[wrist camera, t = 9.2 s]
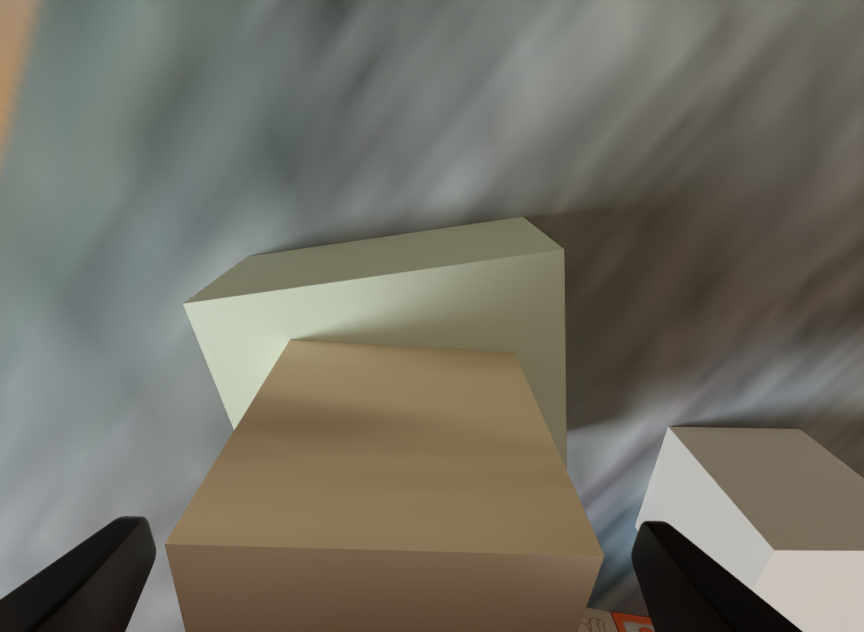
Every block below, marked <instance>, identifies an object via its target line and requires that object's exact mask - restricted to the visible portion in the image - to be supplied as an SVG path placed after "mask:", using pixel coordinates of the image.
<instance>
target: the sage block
mask: <svg viewBox="0 0 864 632" xmlns="http://www.w3.org/2000/svg"><path fill="white" fill-rule="evenodd" d="M183 305H184V307H185V310H186V312H187V315H188V317H189V320H190V322H191V324H192V327H193V329H194V332H195V334H196V337H197V339H198V342H199V344H200V347H201V349H202V352H203V354H204V357H205V359H206V362H207V364H208V367H209V369H210V371H211V374H212V376H213V379H214V381H215V384H216V386H217V389H218V391H219V394H220V396H221V399H222V401H223V404H224V406H225V409H226V411H227V414H228V416H229V418H230V421H231V423H232V426H233V428H234V430H235V428H236V427H237V425H238V424H239V422H240V420H241V419H242V417H243V415H244V414H245V412H246V410H247V409H248V407H249V406H250V404H251V402H252V401H253V399H254V397H255V396H256V394H257V393H258V391H259V389H260V388H261V386H262V384H263V383H264V381H265V379H266V378H267V376H268V375H269V373H270V371H271V370H272V368H273V366H274V365H275V363H276V361H277V360H278V358H279V357H280V355H281V353H282V352H283V350H284V348H285V347H286V345H287V344H288V342H289V340H304V341H321V342H338V343H355V344H373V345H390V346H407V347H424V348H441V349H458V350H476V351H493V352H510V353H515V355H516V357H517V360H518V362H519V364H520V366H521V369H522V371H523V373H524V375H525V378H526V380H527V382H528V384H529V387H530V389H531V391H532V393H533V396H534V398H535V400H536V403H537V405H538V407H539V409H540V412H541V414H542V416H543V418H544V421H545V423H546V425H547V427H548V430H549V432H550V434H551V436H552V439H553V441H554V443H555V445H556V448H557V450H558V452H559V455H560V457H561V459H562V461H563V464H564V466H565V468H566V470H567V439H566V352H565V264H564V249H563V248H562V247H561V246H559V245H558V244H557V243H556V242H554V241H553V240H552V239H550V238H549V237H548V236H547V235H545V234H544V233H543V232H542V231H540V230H539V229H538V228H536V227H535V226H534V225H533V224H531V223H530V222H529V221H528V220H526V219H525V218H524V217H517V218H510V219H503V220H496V221H489V222H482V223H476V224H469V225H462V226H455V227H448V228H441V229H434V230H427V231H420V232H413V233H407V234H400V235H393V236H386V237H379V238H372V239H365V240H358V241H351V242H344V243H338V244H331V245H324V246H317V247H310V248H303V249H296V250H289V251H282V252H275V253H269V254H262V255H255V256H248V257H246V258H245V259H244V260H242V261H241V262H239V263H238V264H237V265H235V266H234V267H233V268H231V269H230V270H229V271H227V272H226V273H224V274H223V275H222V276H220V277H219V278H218V279H216V280H215V281H213V282H212V283H211V284H209V285H208V286H207V287H205V288H204V289H203V290H201V291H200V292H198V293H197V294H196V295H194V296H193V297H192V298H190V299H189V300H187V301H186V302H185V303H183Z"/></svg>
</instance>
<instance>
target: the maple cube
mask: <svg viewBox="0 0 864 632" xmlns="http://www.w3.org/2000/svg"><path fill="white" fill-rule="evenodd" d="M165 547H166V552H167V556H168V560H169V564H170V568H171V572H172V577H173V581H174V585H175V589H176V593H177V597H178V602H179V606H180V610H181V614H182V618H183V622H184V627H185V631H186V632H578V629H579V627H580V624H581V621H582V618H583V615H584V613H585V610H586V607H587V604H588V601H589V598H590V596H591V593H592V590H593V587H594V584H595V582H596V579H597V576H598V573H599V570H600V567H601V565H602V562H603V559H604V554H603V552H602V549H601V547H600V545H599V543H598V540H597V538H596V536H595V534H594V531H593V529H592V527H591V525H590V522H589V520H588V518H587V516H586V513H585V511H584V509H583V506H582V504H581V502H580V500H579V497H578V495H577V493H576V491H575V488H574V486H573V484H572V482H571V479H570V477H569V475H568V473H567V470H566V468H565V466H564V464H563V461H562V459H561V457H560V455H559V452H558V450H557V448H556V445H555V443H554V441H553V439H552V436H551V434H550V432H549V430H548V427H547V425H546V423H545V421H544V418H543V416H542V414H541V412H540V409H539V407H538V405H537V403H536V400H535V398H534V396H533V393H532V391H531V389H530V387H529V384H528V382H527V380H526V378H525V375H524V373H523V371H522V369H521V366H520V364H519V362H518V360H517V357H516V355H515V353H510V352H493V351H476V350H458V349H441V348H424V347H407V346H390V345H373V344H355V343H338V342H321V341H304V340H289V342H288V344H287V345H286V347H285V348H284V350H283V352H282V353H281V355H280V357H279V358H278V360H277V361H276V363H275V365H274V366H273V368H272V370H271V371H270V373H269V375H268V376H267V378H266V379H265V381H264V383H263V384H262V386H261V388H260V389H259V391H258V393H257V394H256V396H255V397H254V399H253V401H252V402H251V404H250V406H249V407H248V409H247V410H246V412H245V414H244V415H243V417H242V419H241V420H240V422H239V424H238V425H237V427H236V428H235V430H234V432H233V433H232V435H231V437H230V438H229V440H228V441H227V443H226V445H225V446H224V448H223V450H222V451H221V453H220V455H219V456H218V458H217V459H216V461H215V463H214V464H213V466H212V468H211V469H210V471H209V473H208V474H207V476H206V477H205V479H204V481H203V482H202V484H201V486H200V487H199V489H198V490H197V492H196V494H195V495H194V497H193V499H192V500H191V502H190V504H189V505H188V507H187V508H186V510H185V512H184V513H183V515H182V517H181V518H180V520H179V521H178V523H177V525H176V526H175V528H174V530H173V531H172V533H171V535H170V536H169V538H168V539H167V541H166V543H165Z"/></svg>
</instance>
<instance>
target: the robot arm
mask: <svg viewBox="0 0 864 632" xmlns="http://www.w3.org/2000/svg"><path fill="white" fill-rule="evenodd" d="M155 557H156V546H155V543H154V539H153V536H152V533H151V529H150V526H149V522H148V520H147V519H146V518H145V517H139V516H124V517H119V518H117V519H115V520H114V521H112V522H111V523H109V524H108V525H106V526H105V527H104V528H102V529H101V530H99V531H98V532H96V533H95V534H94V535H92V536H91V537H89V538H88V539H86V540H85V541H84V542H82V543H81V544H79V545H78V546H76V547H75V548H73V549H72V550H71V551H69V552H68V553H66V554H65V555H63V556H62V557H61V558H59V559H58V560H56V561H55V562H53V563H52V564H51V565H49V566H48V567H46V568H45V569H43V570H42V571H41V572H39V573H38V574H36V575H35V576H33V577H32V578H31V579H29V580H28V581H26V582H25V583H23V584H22V585H20V586H19V587H18V588H16V589H15V590H13V591H12V592H10V593H9V594H8V595H6V596H5V597H3V598H2V599H0V632H125V631H126V629H127V626H128V624H129V621H130V619H131V617H132V614H133V612H134V609H135V607H136V605H137V602H138V600H139V597H140V595H141V593H142V590H143V588H144V585H145V583H146V581H147V578H148V576H149V574H150V571H151V569H152V566H153V564H154V561H155ZM632 563H633V566H634V569H635V573H636V576H637V579H638V582H639V585H640V588H641V591H642V594H643V597H644V600H645V603H646V606H647V609H648V613H649V616H650V619H651V622H652V625H653V628H654V631H655V632H803V631H802V630H800V629H799V628H798V627H797V626H795V625H794V624H793V623H792V622H791V621H789V620H788V619H787V618H786V617H784V616H783V615H782V614H781V613H779V612H778V611H777V610H776V609H774V608H773V607H772V606H771V605H769V604H768V603H767V602H766V601H764V600H763V599H762V598H761V597H760V596H758V595H757V594H756V593H755V592H753V591H752V590H751V589H750V588H748V587H747V586H746V585H745V584H743V583H742V582H741V581H740V580H738V579H737V578H736V577H735V576H733V575H732V574H731V573H730V572H729V571H727V570H726V569H725V568H724V567H722V566H721V565H720V564H719V563H717V562H716V561H715V560H714V559H712V558H711V557H710V556H709V555H707V554H706V553H705V552H704V551H702V550H701V549H700V548H699V547H698V546H696V545H695V544H694V543H693V542H691V541H690V540H689V539H688V538H686V537H685V536H684V535H683V534H681V533H680V532H679V531H678V530H676V529H675V528H674V527H673V526H672V525H670V524H669V523H667V522H664V521H644V522H643V523H642V524H641V525H640V528H639V531H638V534H637V537H636V540H635V542H634V545H633V548H632Z"/></svg>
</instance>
